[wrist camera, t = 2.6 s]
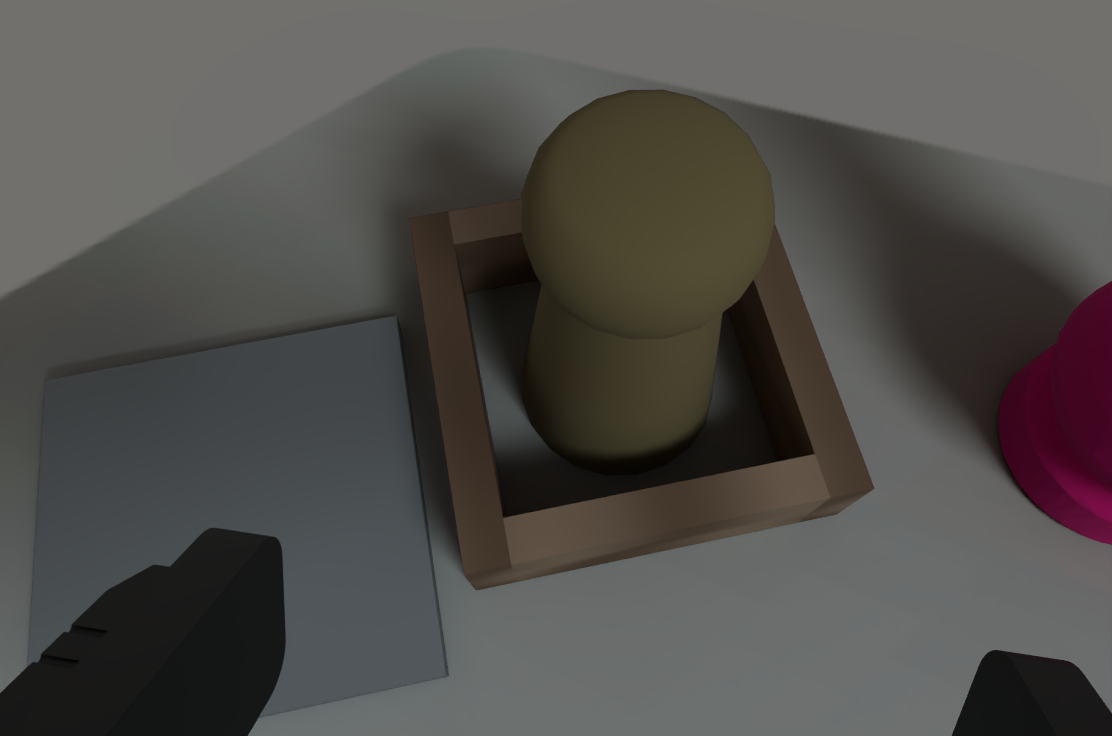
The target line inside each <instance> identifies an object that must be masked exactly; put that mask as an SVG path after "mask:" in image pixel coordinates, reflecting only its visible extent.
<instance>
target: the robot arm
mask: <svg viewBox="0 0 1112 736" xmlns="http://www.w3.org/2000/svg"><path fill="white" fill-rule="evenodd" d="M285 647H286V630H285V605H284V579H283V555H282V548H281V544H280V542H279V540H278V539H277V538H276V537H273V536H266V535H260V534H253V533H247V532H240V531H234V530H227V529H221V528H209V529H207V530H205V531H204V532H203V533H202V534H201V535H200V536H199V537H198V538H197V539H196V540H195V541H194V542H193V543H192V544H191V545H190V546H189V547H188V548H187V549H186V550H185V551H184V552H183V553H182V554H181V555H180V557H179V558H178V559H177V560H176V561H175V562H174V563H173V564H172V565H171V566H170V567H168V566H162V565H155V564H154V565H152V566H150V567H148V568H146V569H144V570H143V571H141V572H139V573H137V574H135V575H134V576H132V577H130V578H128V579H126V580H124V581H123V582H121V583H119V584H117V585H115V586H114V587H112V588H110V589H108V590H107V591H105V592H104V593H103V594H102V595H101V596H100V597H99V598H98V599H97V600H96V601H95V602H94V603H93V604H92V605H91V606H90V607H89V608H88V609H87V610H86V611H85V612H84V613H83V614H82V615H81V616H80V617H79V618H78V619H77V620H76V621H74V622H73V623H72V624H71V629H70V631H69V632H63V633H62V634H61V635H60V636H59V637H58V638H57V639H56V640H55V641H54V642H53V643H52V644H51V645H50V646H49V647H48V648H47V649H46V650H45V651H43V652H42V653H41V657H40V660H39V661H38V662H32V663H31V664H30V665H29V666H28V667H27V668H26V669H25V670H24V671H23V672H22V673H21V674H20V675H19V676H18V677H17V678H16V679H15V680H13V681H12V682H11V683H10V684H9V685H8V686H7V687H6V688H5V689H4V690H3V691H2V692H1V693H0V736H248V734H249V732H250V731H251V729H252V727H253V726H254V724H255V722H256V721H257V719H258V717H259V716H260V714H261V712H262V711H263V709H264V707H265V706H266V704H267V702H268V701H269V699H270V697H271V695H272V693H273V691H274V689H275V687H276V684H277V682H278V679H279V676H280V673H281V669H282V665H283V661H284V655H285ZM952 736H1112V713H1111V712H1110V710H1109V709H1108V708H1107V706H1106V705H1105V703H1104V702H1103V700H1102V699H1101V698H1100V696H1099V695H1098V693H1097V692H1096V691H1095V689H1094V688H1093V686H1092V685H1091V684H1090V682H1089V681H1088V679H1087V678H1086V677H1085V675H1084V674H1083V673H1082V671H1081V670H1080V669H1079V668H1078V667H1077V666H1076V665H1074V664H1073V663H1071V662H1069V661H1065V660H1058V659H1052V658H1045V657H1039V656H1032V655H1026V654H1019V653H1013V652H1006V651H1000V650H992V651H990V652H988V653H987V654H986V655H985V656H984V658H983V659H982V660H981V663H980V665H979V667H978V669H977V672H976V675H975V677H974V680H973V682H972V685H971V687H970V690H969V693H968V695H967V698H966V700H965V703H964V705H963V708H962V711H961V713H960V716H959V718H958V721H957V723H956V726H955V729H954V731H953V734H952Z"/></svg>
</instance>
